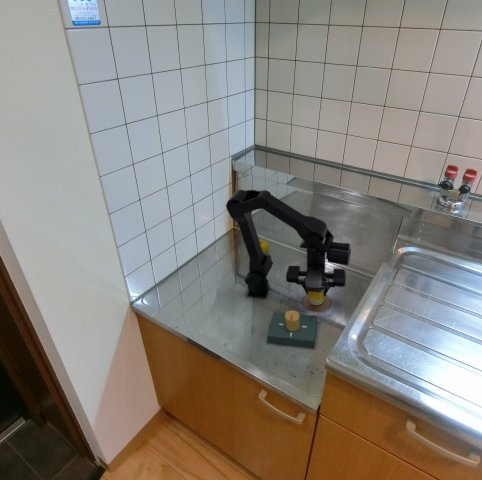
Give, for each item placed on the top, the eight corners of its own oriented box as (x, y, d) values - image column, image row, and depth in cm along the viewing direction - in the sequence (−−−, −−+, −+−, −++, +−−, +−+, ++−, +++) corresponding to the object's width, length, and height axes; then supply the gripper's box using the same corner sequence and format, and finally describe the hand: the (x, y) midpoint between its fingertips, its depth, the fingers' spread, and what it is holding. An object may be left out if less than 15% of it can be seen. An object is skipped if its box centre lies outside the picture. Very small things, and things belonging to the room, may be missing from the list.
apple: (265, 262, 147) (263, 246, 142) (251, 258, 150) (249, 242, 145) (272, 253, 151) (271, 237, 146) (258, 249, 154) (257, 234, 149)
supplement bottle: (323, 306, 124) (324, 284, 118) (307, 304, 125) (306, 283, 119) (324, 294, 128) (324, 273, 122) (308, 293, 129) (308, 272, 123)
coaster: (301, 310, 124) (301, 309, 124) (304, 291, 131) (304, 290, 131) (328, 313, 122) (328, 312, 122) (330, 294, 129) (330, 292, 129)
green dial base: (268, 342, 115) (267, 335, 113) (274, 318, 123) (273, 311, 121) (313, 347, 112) (313, 340, 110) (316, 322, 120) (316, 315, 118)
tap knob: (286, 319, 118) (286, 308, 115) (300, 320, 117) (300, 310, 114) (284, 330, 114) (283, 319, 112) (298, 331, 113) (298, 321, 110)
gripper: (282, 273, 112) (284, 309, 121) (345, 277, 107) (343, 315, 116) (287, 250, 120) (289, 285, 129) (347, 254, 116) (344, 290, 125)
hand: (316, 294), depth 125 cm, fingers closed on supplement bottle, 5 cm apart
